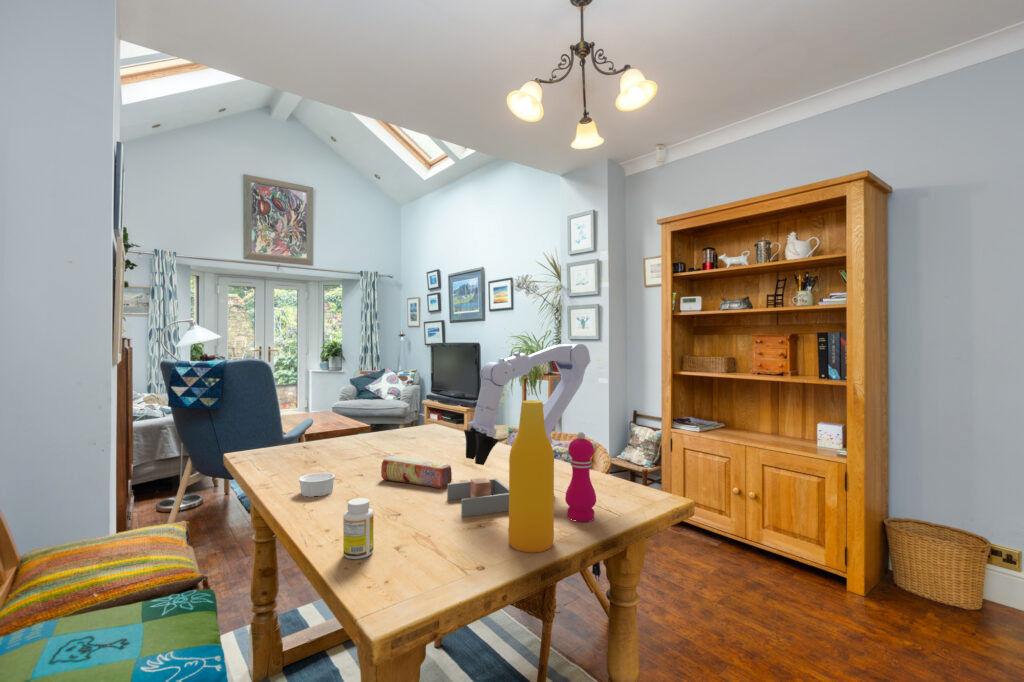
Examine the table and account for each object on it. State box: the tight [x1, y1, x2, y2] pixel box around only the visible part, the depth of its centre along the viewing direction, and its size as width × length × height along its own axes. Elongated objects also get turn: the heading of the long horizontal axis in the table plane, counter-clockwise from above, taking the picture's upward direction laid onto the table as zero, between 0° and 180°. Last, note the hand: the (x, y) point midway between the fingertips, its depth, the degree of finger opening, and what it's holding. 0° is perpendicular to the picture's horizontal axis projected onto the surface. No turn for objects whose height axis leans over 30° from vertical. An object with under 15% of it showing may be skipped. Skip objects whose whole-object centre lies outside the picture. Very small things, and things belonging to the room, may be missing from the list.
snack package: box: [380, 455, 453, 489], centre depth 140 cm, size 21×7×7 cm, turn 67°
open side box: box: [446, 477, 509, 518], centre depth 122 cm, size 14×14×4 cm
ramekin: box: [298, 472, 336, 498], centre depth 130 cm, size 9×9×4 cm
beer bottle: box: [507, 399, 555, 553], centre depth 98 cm, size 9×9×29 cm
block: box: [470, 477, 491, 498], centre depth 122 cm, size 4×4×6 cm
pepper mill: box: [564, 431, 597, 522], centre depth 113 cm, size 7×7×20 cm
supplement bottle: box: [342, 497, 375, 560], centre depth 93 cm, size 6×6×10 cm
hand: (474, 461), depth 121 cm, fingers open, 7 cm apart
